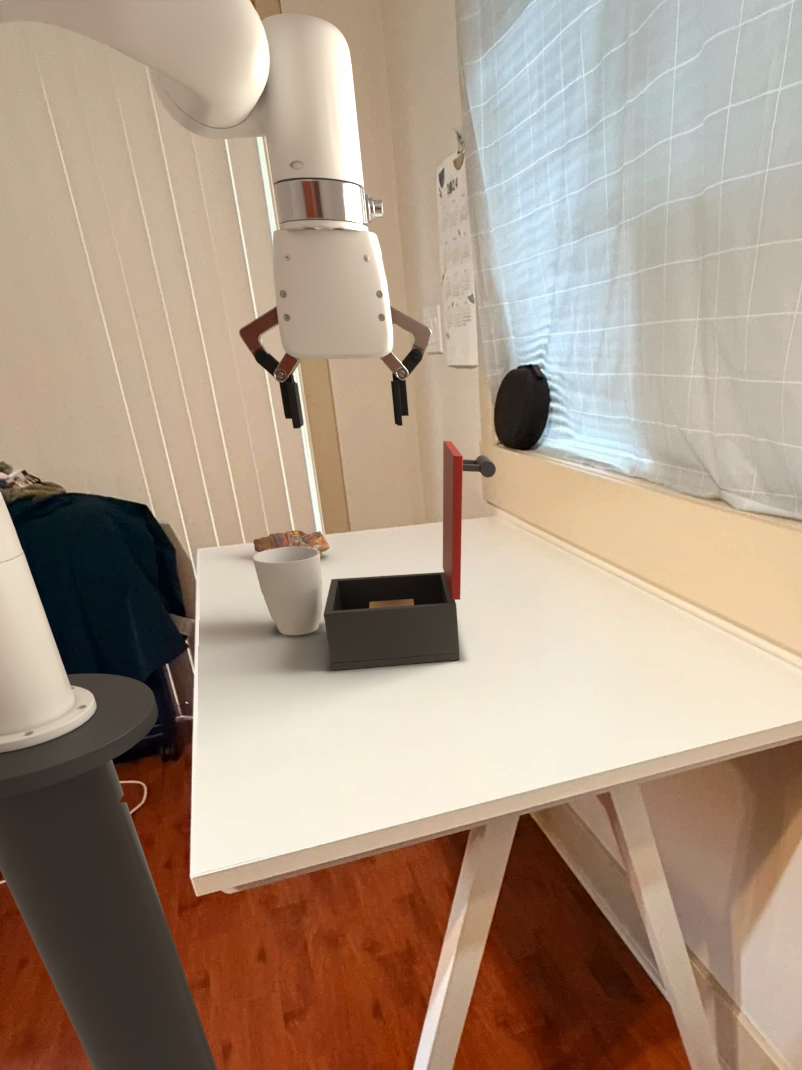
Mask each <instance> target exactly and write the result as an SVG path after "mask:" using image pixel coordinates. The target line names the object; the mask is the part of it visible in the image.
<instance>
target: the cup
mask: <svg viewBox="0 0 802 1070" xmlns="http://www.w3.org/2000/svg"><path fill="white" fill-rule="evenodd" d="M252 561H253V566H254V569H255V573H256V577H257V580H258V584H259V588H260V591H261V593H262V596H263V599H264V602H265V605H266V607H267V610H268V612H269V615H270V616H271V619H272V620H273V622H274V624H275V625H276V627H277V629H278V631H279V632H280V634H282V635H284V636H303V635H309V634H311V633H313V632H316V631H317V630H319V627H320V622H321V615H322V610H323V575H322V564H321V557H320V552H319V550H317V549H314V548H310V547H281V548H274V549H269V550H265V551H262V552H257V553H255V554H253V555H252Z"/></svg>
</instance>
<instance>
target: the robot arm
mask: <svg viewBox="0 0 802 1070" xmlns="http://www.w3.org/2000/svg"><path fill="white" fill-rule="evenodd" d="M16 22H17V23H18V22H32V23H33V22H35V23H42V24H46V25H51V26H54V27H58V28H62V29H63V30H68V31H70V32H74V33H76V34H79V35H82V36H84V37H87V38H90V40H93V41H96V42H98V43H100V44H102V45H104V46H107V47H109V48H111V49H113V50H115V51H117V52H119V53H121V54H122V55H125V56H127V57H129V58H131V59H132V60H135V61H137V62H139V63H140V64H143V65H144V66H146V67H148V68H149V73H150V78H151V82H152V85H153V88H154V91H155V93H156V97H157V98H158V100H159V102H160V103H161V105H162V107H163V108H164V110H166V112H167V113H168V115H169V116H170V117H172V119H173V120H174V121H175V122H177V123H178V124H179V125H180V126H181V127H182V128H184V129H185V130H186V131H189V132H190V133H192V134H194V135H197V136H199V137H202V138H206V139H211V140H234V139H247V138H264V137H265V138H266V142H267V149H268V155H269V156H268V157H269V162H270V163H269V164H270V170H271V176H272V182H273V187H274V188H273V190H274V196H275V203H276V209H277V215H278V216H277V217H278V222H279V229H275V230H273V233H272V234H273V235H272V267H273V282H274V283H273V284H274V295H275V304H276V305H275V306H274V307H272V308H271V309H269V310H268V311H266V312H264V313H263V314H261V315H260V316H258V317H257V318H255V319H253V320H252V321H250V322H249V323H247V324H246V325H244V326H242V327H241V328H240V329H239V331H238V335H239V337H240V339H241V340H242V341H243V343H244V345H245V346H246V347H247V349H248V350H249V352H250V353H251V355H252V356H253V358H254V360H255V361H256V363H257V364H258V365H259V366H260V367H262V368H263V369H264V370H265V371H266V372H268V374H269V375H271V376H272V377H273V378H274V379H275V381H277V382H278V383H279V390H280V395H281V396H280V397H281V402H282V408H283V414H284V418H285V419H286V420H291V422H292V428H293V429H297V430H298V429H300V428H302V427H303V426H304V423H305V422H304V415H303V409H302V403H301V398H300V391H299V384H298V382H296V380H295V376H294V373H295V371H296V370H297V369H298V367H299V365H300V363H301V362H302V360H350V359H351V360H354V359H355V360H358V359H361V360H363V359H366V360H367V359H380V360H381V361H382V362H383V363H384V365H385V366H386V367H387V368H388V369H389V370H390V371H391V372H392V373H391V376H392V380H390V386H391V387H390V389H391V398H392V408H393V418H394V425H396V426H397V427H398V426H400V427H401V426H403V417H409V416H410V414H409V401H408V391H407V380H408V378H409V376H410V375H411V374H412V373H413V371H414V370H415V369H416V368H417V366H419V364H420V363H421V361H422V360H423V357H424V354H425V352H426V350H427V347H428V344H429V342H430V339H431V337H432V330H431V328H430V327H429V326H427V325H425V324H423V323H421V322H419V321H418V320H416V319H414V318H412V317H410V316H409V315H407V314H405V313H404V312H402V311H400V310H398V309H397V308H394V307H393V306H391V302H390V301H391V300H390V295H389V294H390V293H389V288H388V279H387V274H386V269H385V264H384V263H385V262H384V258H383V253H382V249H381V245H380V242H379V239H378V235H377V234H376V233H375V232H372V231H369V225H368V224H371V223H372V221H374V220H376V219H384V209H383V207H384V206H383V200H382V199H374V197H370V196H369V194H368V193H365V185H364V183H365V182H364V174H363V173H364V172H363V163H362V156H361V155H362V154H361V146H360V145H361V144H360V134H359V133H360V132H359V123H358V114H357V106H356V95H355V94H356V93H355V85H354V75H353V65H352V58H351V50H350V47H349V45H348V42H347V40H346V38H345V36H344V34H343V33H342V31H341V30H340V29H338V27H337V26H335V25H334V24H333V23H331V22H329V21H327V20H326V19H322V18H320V17H317V16H314V15H310V14H306V13H305V14H304V13H299V12H298V13H297V12H296V13H295V12H284V13H277V14H273V15H270V16H267V17H265V18H263V19H262V20H261V17H260V15H259V13H258V11H257V10H256V9H255V6H254V5H253V3H252V1H251V0H0V24H9V23H16ZM393 325H394V326H396V327H397V328H399V329H401V330H403V331H404V332H407V333H408V334H410V335H411V336H412V337H413V343H412V346H411V348H410V350H409V352H408V353H407V355H406V356H405V357H404V358H403V360H402V361H400V359H398V357H397V356H396V354H395V353H393V349H394V327H393ZM277 327H278V329H279V336H280V340H281V344H282V348H283V350H284V352H285V353H284V355H283V357H282V358H281V359H280V361H279V360H277V359H276V358H275V357H274V356H273V355H272V354H271V353H270V352H269V351H268V350H267V348H266V347H265V346H264V344H263V342H262V337H263V335H265V334H267V333H269V332H270V331H272V330H273V329H275V328H277ZM67 675H68V674H67V671H66V669H65V665H64V663H63V660H62V657H61V654H60V651H59V649H58V646H57V643H56V640H55V637H54V634H53V632H52V628H51V626H50V623H49V620H48V617H47V615H46V611H45V608H44V605H43V603H42V600H41V597H40V594H39V592H38V589H37V586H36V583H35V580H34V577H33V575H32V572H31V569H30V566H29V563H28V560H27V557H26V554H25V551H24V550H23V548H22V545H21V542H20V539H19V536H18V533H17V530H16V527H15V525H14V523H13V519H12V517H11V514H10V512H9V509H8V507H7V504H6V502H5V499H4V497H3V494H2V492H1V491H0V753H5V752H11V751H16V750H20V749H24V748H29V747H32V746H35V745H38V744H42V743H45V742H48V741H50V740H53V739H55V738H58V737H60V736H62V735H65V734H67V733H69V732H71V731H73V730H74V729H76V728H78V727H79V726H81V725H82V724H84V723H85V722H86V721H88V720H89V719H90V718H91V716H92V715H93V714H94V713H95V710H96V708H97V706H96V701H95V699H94V696H93V694H92V693H91V692H90V691H89V690H86V689H84V688H81V687H77V686H71V685H70V682H69V680H68V677H67Z"/></svg>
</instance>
